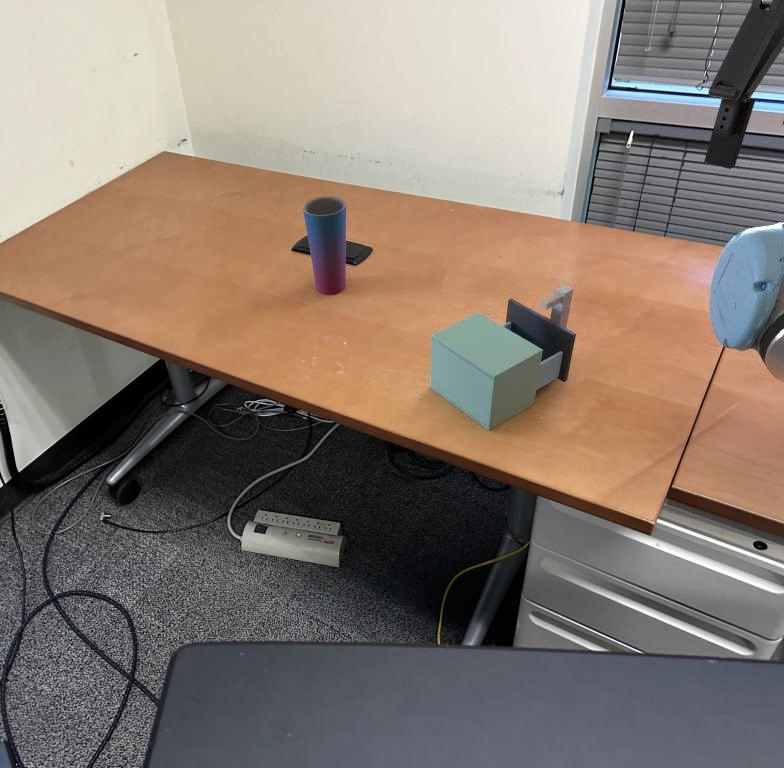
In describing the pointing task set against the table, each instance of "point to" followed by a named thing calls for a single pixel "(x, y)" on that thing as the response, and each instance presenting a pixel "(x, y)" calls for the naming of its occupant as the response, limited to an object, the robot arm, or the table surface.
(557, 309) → the dark grey drawer
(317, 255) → the cup
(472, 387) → the box
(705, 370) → the table surface
